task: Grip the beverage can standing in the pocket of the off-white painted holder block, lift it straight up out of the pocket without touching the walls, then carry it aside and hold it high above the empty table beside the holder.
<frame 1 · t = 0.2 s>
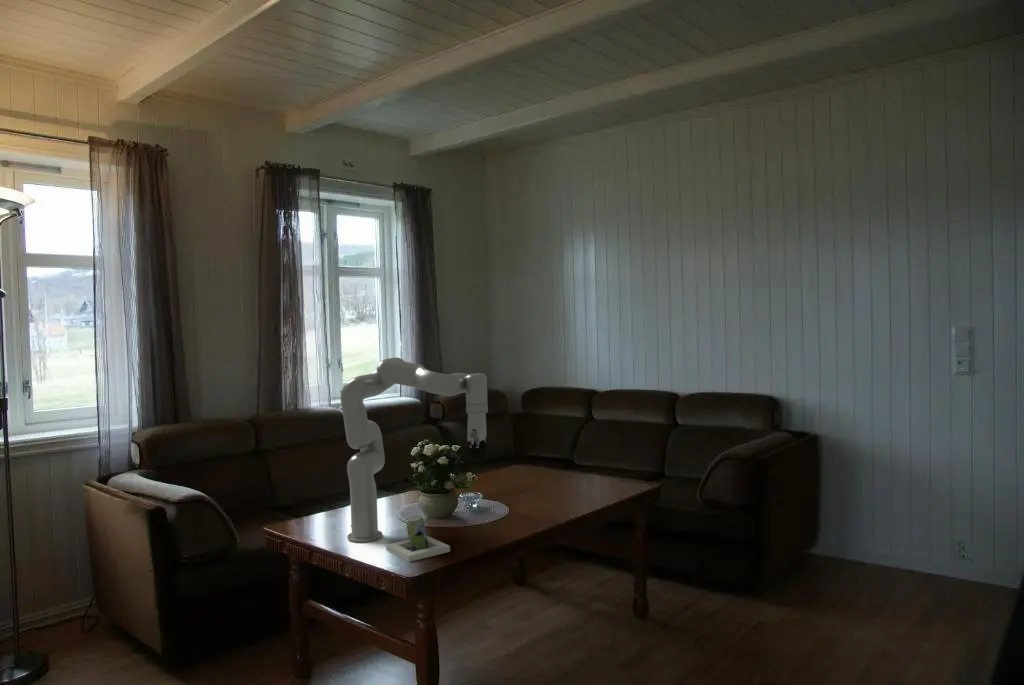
hand: (478, 456, 258), 31 cm above the table, tool pointing down, fingers open, 9 cm apart
can holder: (418, 551, 252), on the table
beverage can: (418, 551, 252), resting in can holder
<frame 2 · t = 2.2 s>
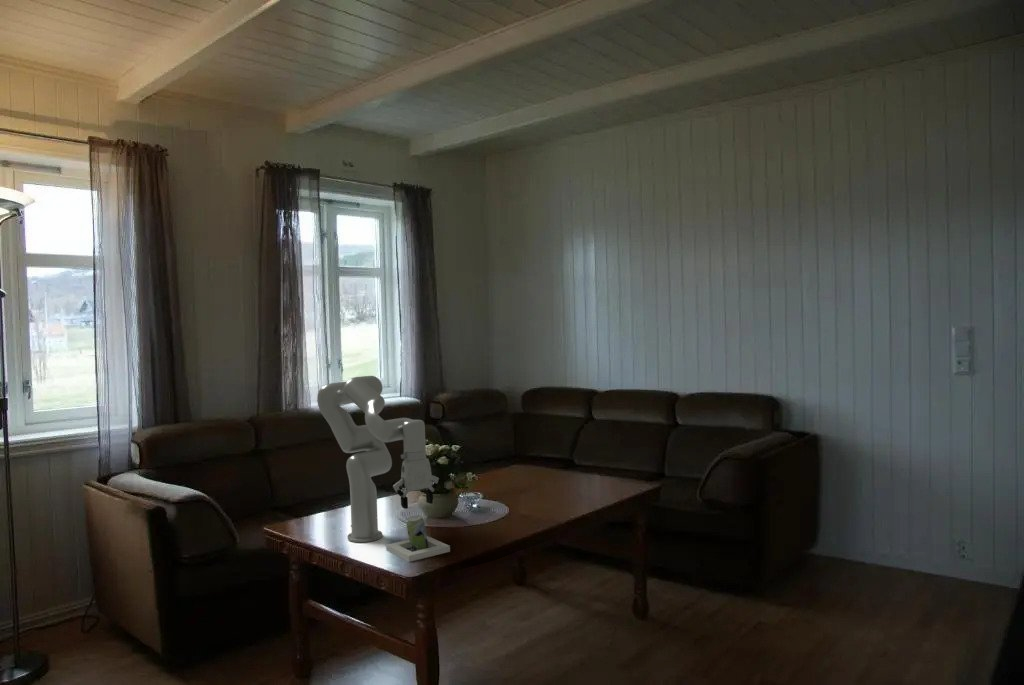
hand: (417, 505, 251), 16 cm above the table, tool pointing down, fingers open, 9 cm apart
nothing on the table moved.
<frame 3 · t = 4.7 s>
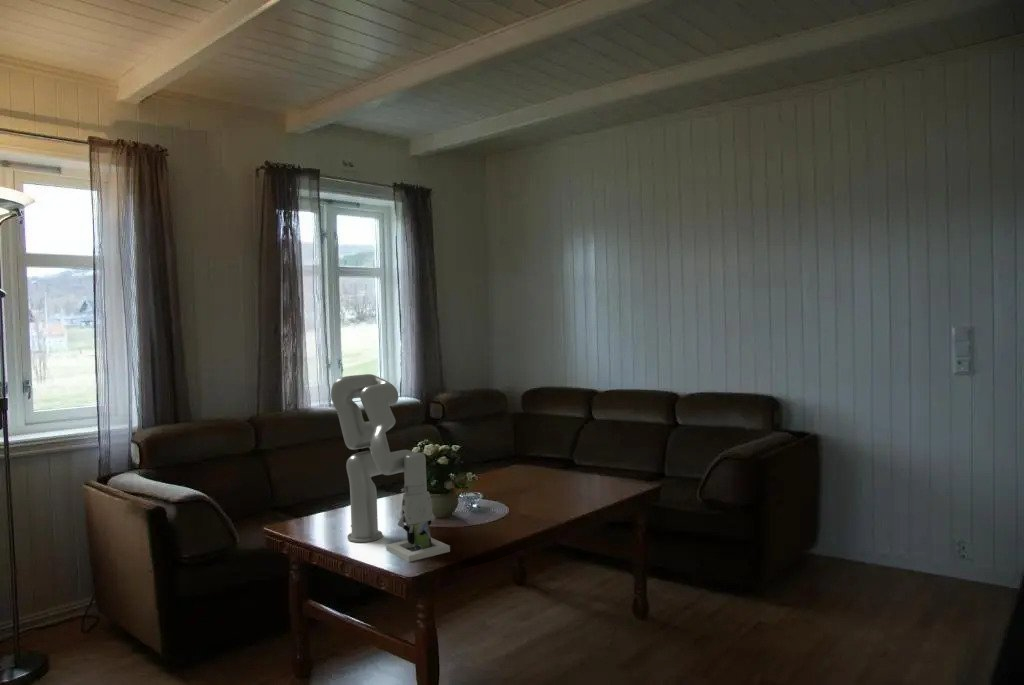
hand: (417, 541, 252), 4 cm above the table, tool pointing down, fingers open, 4 cm apart
beverage can: (421, 550, 253), resting in can holder, touching gripper
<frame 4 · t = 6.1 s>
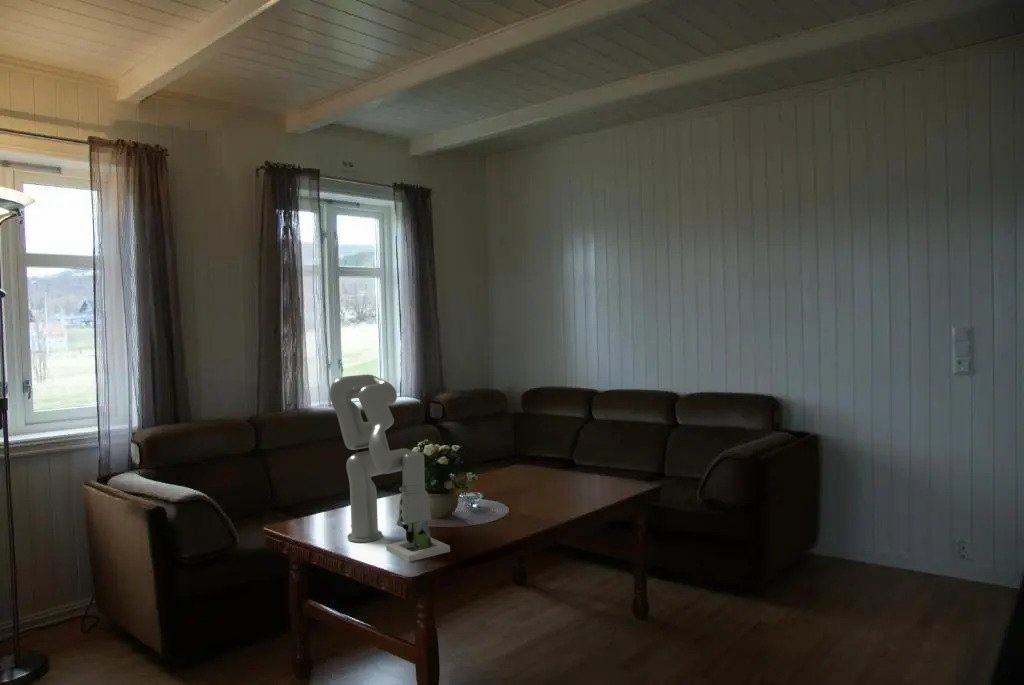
hand: (414, 540, 252), 4 cm above the table, tool pointing down, fingers closed on beverage can, 2 cm apart
beverage can: (420, 550, 253), resting in can holder, touching gripper
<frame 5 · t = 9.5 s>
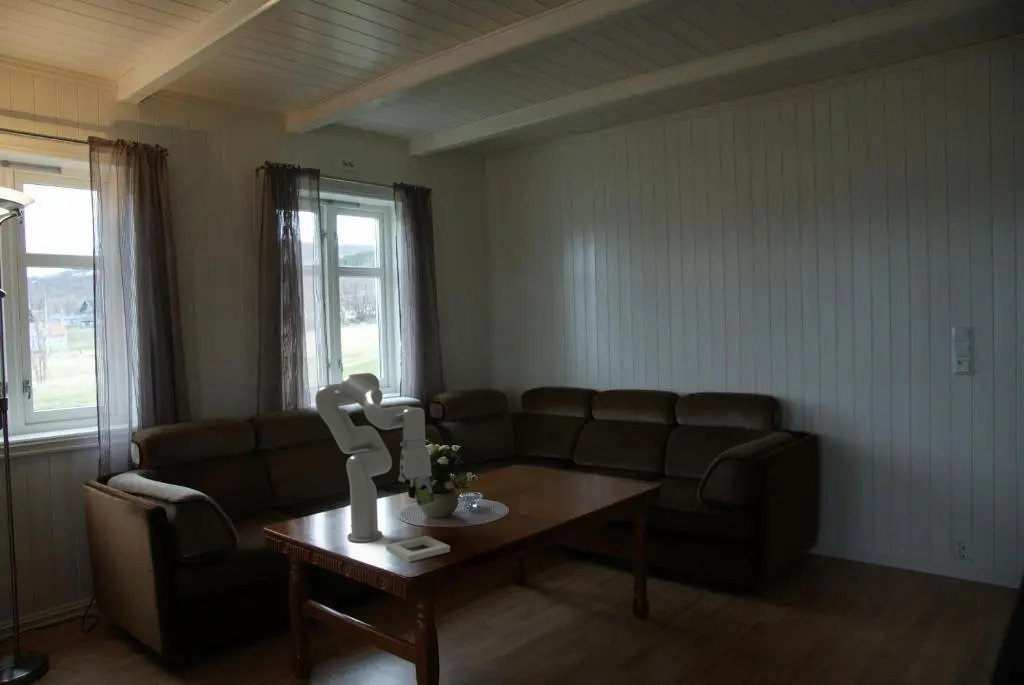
hand: (415, 496, 252), 19 cm above the table, tool pointing down, fingers closed on beverage can
beverage can: (424, 505, 253), point 15 cm above the table, touching gripper
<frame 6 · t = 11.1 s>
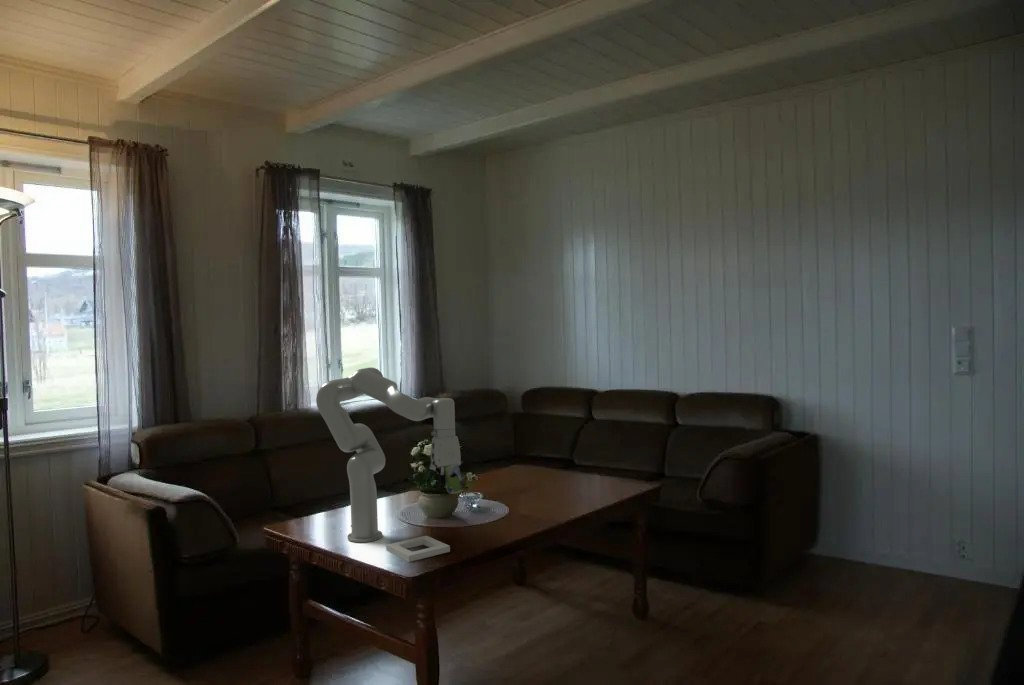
hand: (446, 484, 260), 21 cm above the table, tool pointing down, fingers closed on beverage can
beverage can: (453, 493, 261), point 17 cm above the table, touching gripper
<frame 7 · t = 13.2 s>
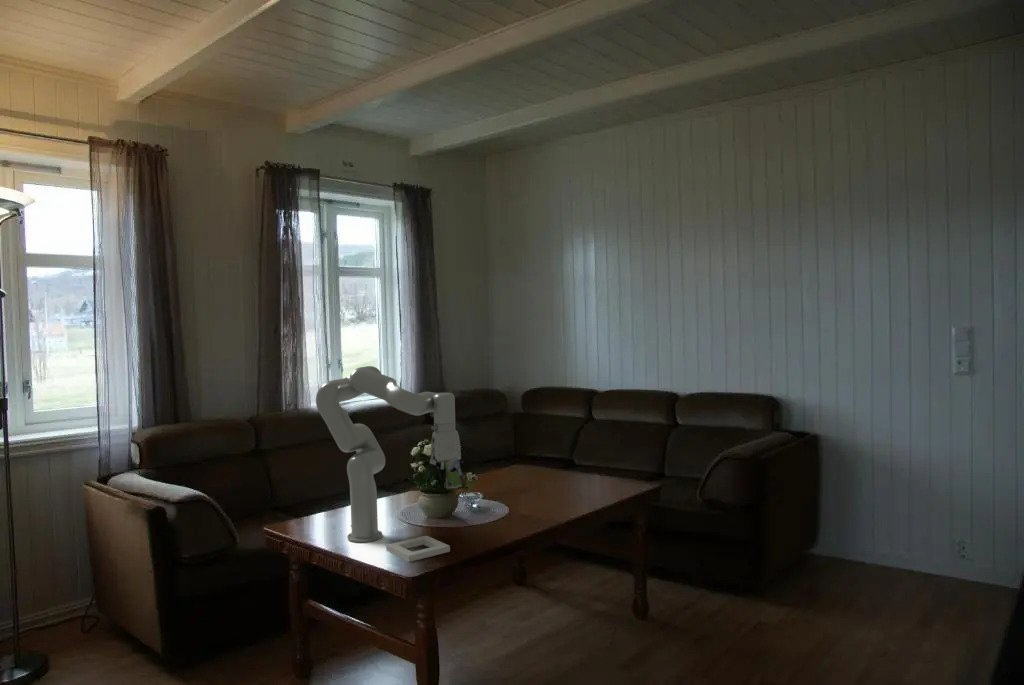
hand: (446, 478, 260), 23 cm above the table, tool pointing down, fingers closed on beverage can
beverage can: (454, 487, 262), point 19 cm above the table, touching gripper
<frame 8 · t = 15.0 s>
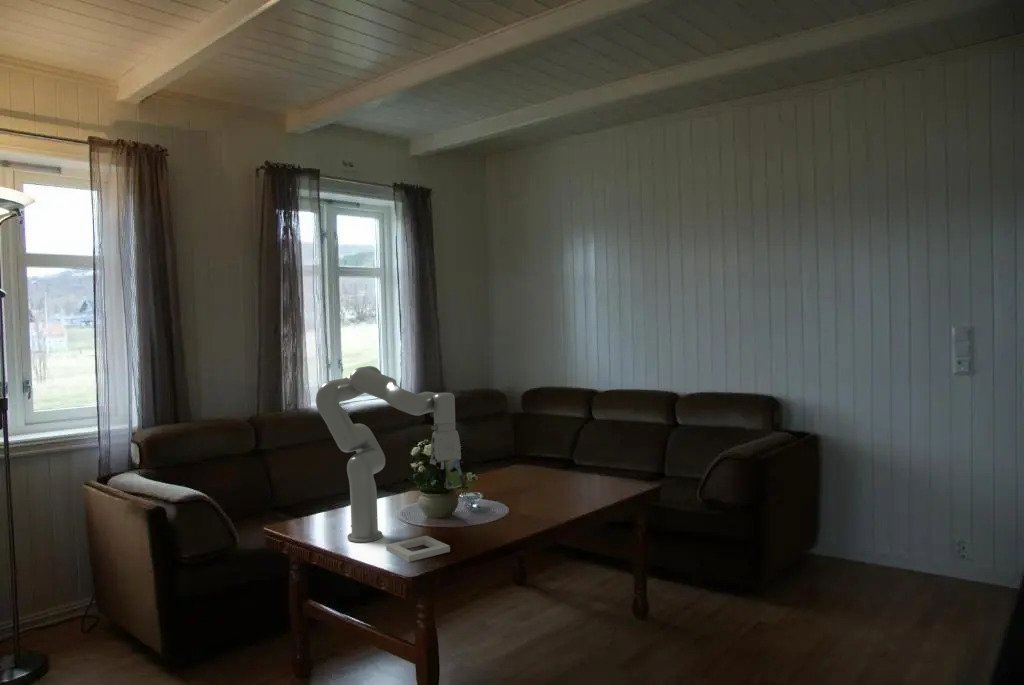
hand: (446, 478, 260), 23 cm above the table, tool pointing down, fingers closed on beverage can
beverage can: (454, 487, 262), point 19 cm above the table, touching gripper
at the end: the gripper is holding beverage can; beverage can inside the target area (2.7 cm from its centre), point 19.3 cm above the table; beverage can tilted 3° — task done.
